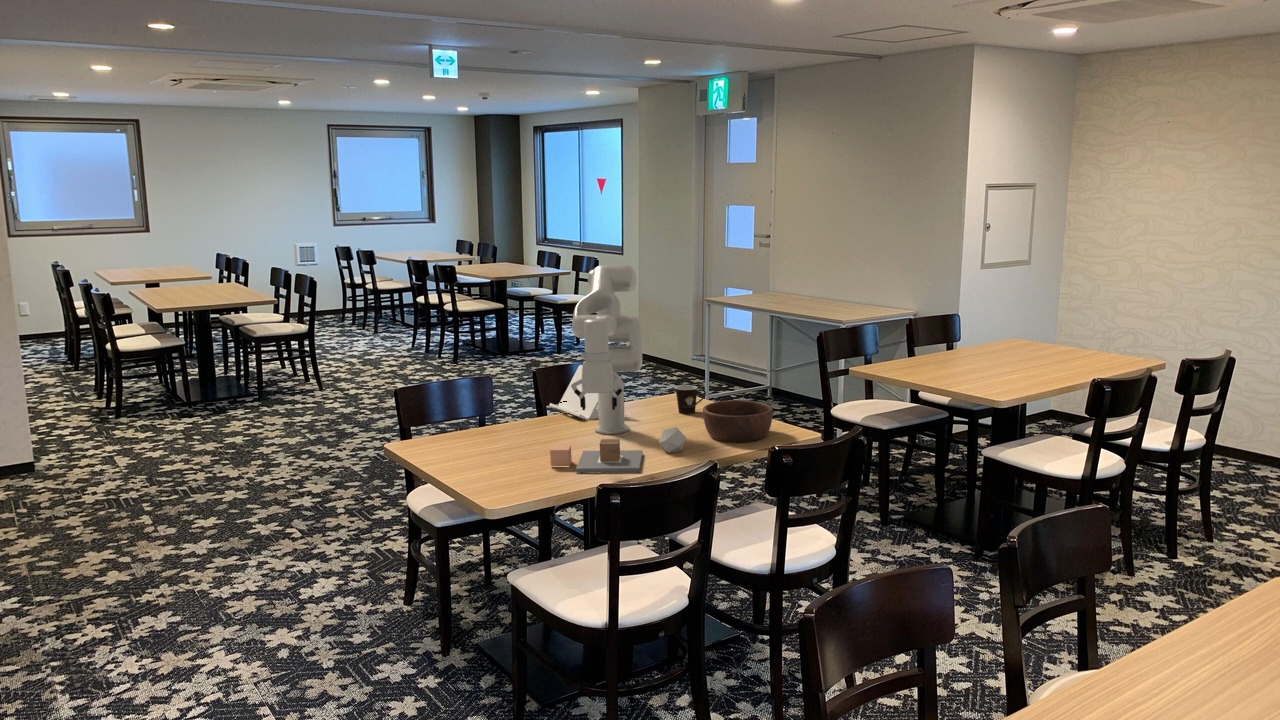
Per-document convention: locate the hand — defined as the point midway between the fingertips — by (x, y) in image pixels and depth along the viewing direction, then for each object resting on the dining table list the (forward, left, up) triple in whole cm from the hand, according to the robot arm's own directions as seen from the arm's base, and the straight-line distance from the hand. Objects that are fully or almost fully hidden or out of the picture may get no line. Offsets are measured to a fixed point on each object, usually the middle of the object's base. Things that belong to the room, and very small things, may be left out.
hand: (598, 409), depth 305 cm
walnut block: (0, +3, -17) cm, 17 cm away
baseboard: (0, +3, -18) cm, 19 cm away
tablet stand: (-71, -14, -19) cm, 75 cm away
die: (-14, +23, -19) cm, 33 cm away
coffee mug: (-68, +29, -18) cm, 76 cm away
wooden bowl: (-33, +46, -19) cm, 60 cm away
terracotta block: (+1, -13, -18) cm, 22 cm away
